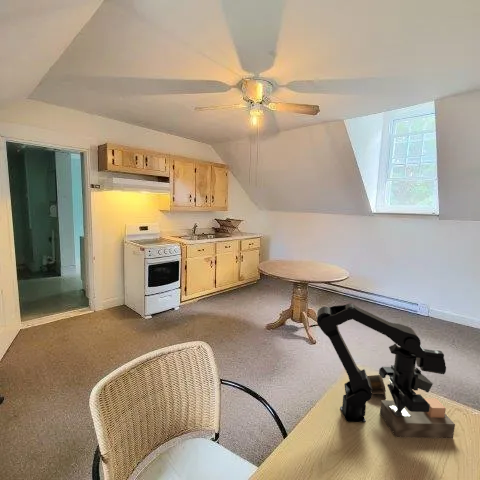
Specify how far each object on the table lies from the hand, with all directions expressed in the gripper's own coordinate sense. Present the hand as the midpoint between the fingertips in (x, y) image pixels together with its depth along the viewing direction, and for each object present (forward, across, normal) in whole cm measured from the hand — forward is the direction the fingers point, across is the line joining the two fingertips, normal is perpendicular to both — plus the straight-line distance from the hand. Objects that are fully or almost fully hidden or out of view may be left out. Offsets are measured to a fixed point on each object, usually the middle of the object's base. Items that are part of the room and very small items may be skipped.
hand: (399, 410), depth 92 cm
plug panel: (+5, 0, -6) cm, 8 cm away
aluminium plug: (+5, 0, 0) cm, 5 cm away
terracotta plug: (+2, 0, -11) cm, 11 cm away
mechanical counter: (+6, +17, +2) cm, 18 cm away
